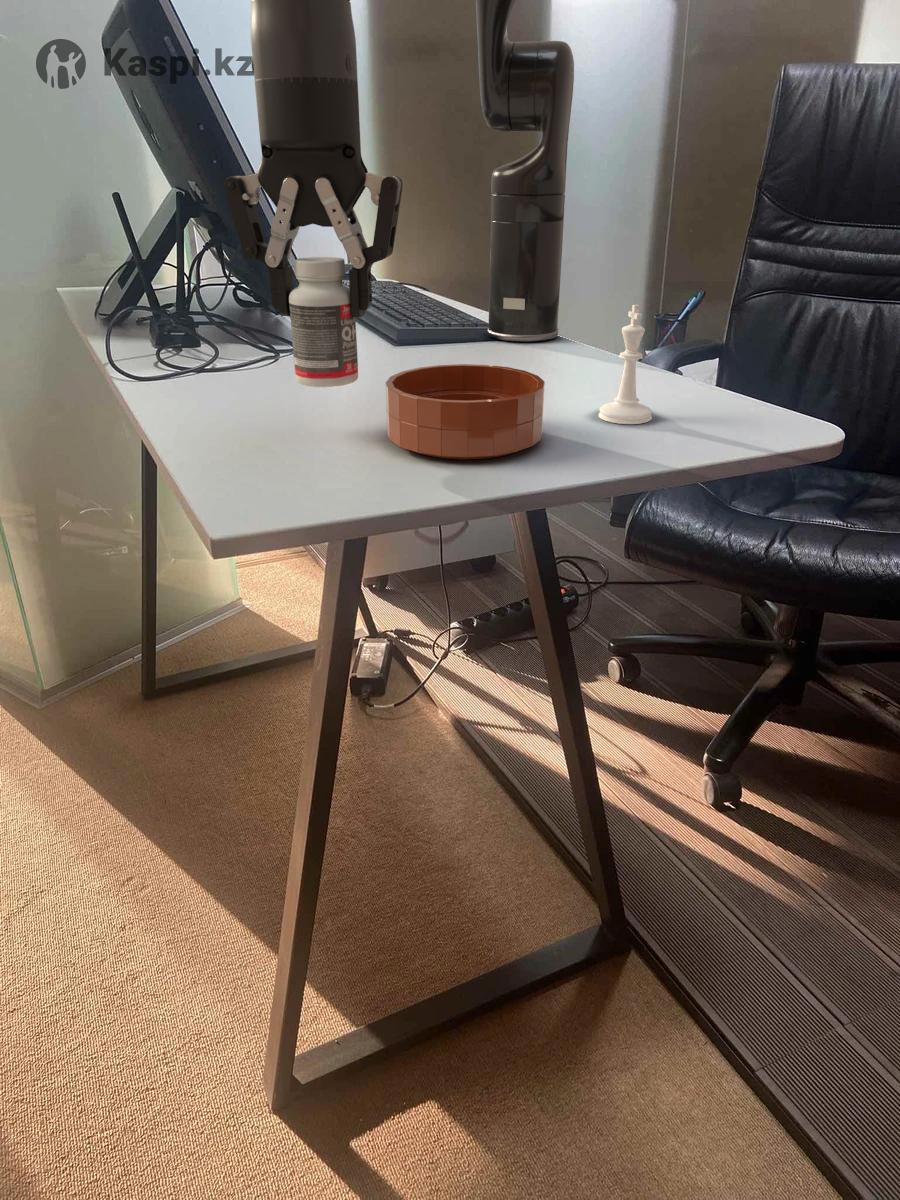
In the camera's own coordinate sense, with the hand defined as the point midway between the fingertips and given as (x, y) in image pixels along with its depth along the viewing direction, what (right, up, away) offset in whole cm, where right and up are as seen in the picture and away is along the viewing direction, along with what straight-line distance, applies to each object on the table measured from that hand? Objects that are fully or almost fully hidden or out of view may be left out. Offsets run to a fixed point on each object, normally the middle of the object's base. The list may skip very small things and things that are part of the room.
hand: (322, 314), depth 71 cm
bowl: (+12, -10, +3) cm, 16 cm away
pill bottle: (0, -5, +3) cm, 6 cm away
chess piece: (+27, -7, +10) cm, 29 cm away
